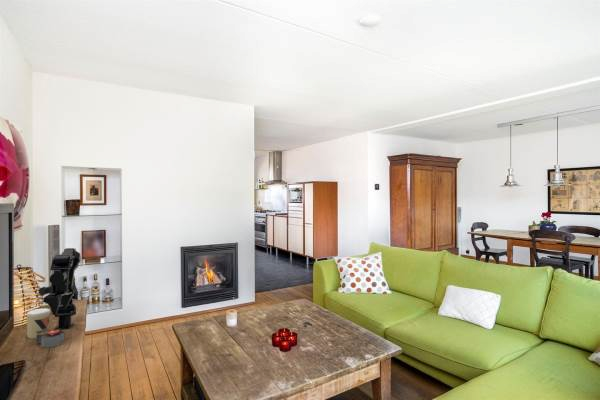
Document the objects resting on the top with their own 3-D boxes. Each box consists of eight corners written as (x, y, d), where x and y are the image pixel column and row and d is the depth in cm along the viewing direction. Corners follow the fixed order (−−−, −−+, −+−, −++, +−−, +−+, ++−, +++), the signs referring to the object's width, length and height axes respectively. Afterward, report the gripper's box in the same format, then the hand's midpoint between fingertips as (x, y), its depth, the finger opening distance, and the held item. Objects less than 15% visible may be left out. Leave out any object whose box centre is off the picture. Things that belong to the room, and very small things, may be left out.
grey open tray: (41, 340, 157) (42, 331, 157) (66, 339, 159) (67, 330, 159) (31, 348, 149) (31, 338, 149) (57, 347, 151) (58, 337, 151)
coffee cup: (35, 340, 157) (37, 315, 157) (20, 337, 159) (21, 313, 159) (53, 332, 166) (55, 309, 166) (39, 330, 168) (40, 307, 168)
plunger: (49, 339, 156) (50, 328, 156) (60, 339, 157) (60, 328, 157) (44, 343, 151) (45, 332, 152) (55, 343, 152) (55, 332, 152)
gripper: (53, 276, 169) (51, 306, 168) (31, 284, 151) (29, 318, 150) (77, 276, 171) (75, 305, 171) (58, 284, 153) (56, 318, 152)
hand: (59, 311), depth 161 cm, fingers open, 9 cm apart
